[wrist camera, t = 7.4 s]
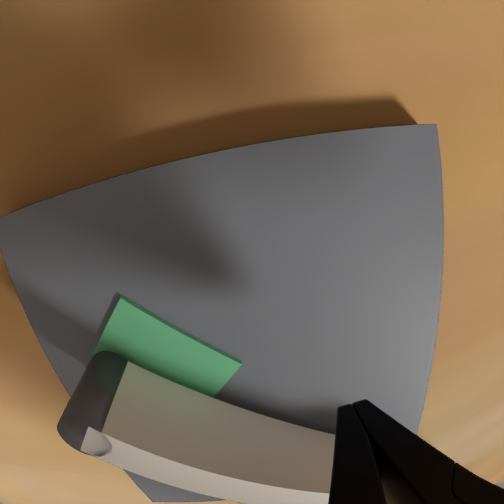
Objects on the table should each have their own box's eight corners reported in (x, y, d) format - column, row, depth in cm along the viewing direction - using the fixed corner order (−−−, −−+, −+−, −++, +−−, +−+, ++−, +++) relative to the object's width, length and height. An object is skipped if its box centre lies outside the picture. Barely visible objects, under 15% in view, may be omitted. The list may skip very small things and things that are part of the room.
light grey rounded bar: (408, 436, 14) (433, 485, 10) (368, 470, 14) (387, 518, 11) (102, 327, 10) (63, 396, 7) (83, 382, 11) (52, 447, 8)
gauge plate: (402, 443, 16) (410, 459, 15) (154, 487, 16) (152, 504, 15) (418, 124, 10) (439, 123, 9) (9, 213, 10) (-12, 222, 9)
